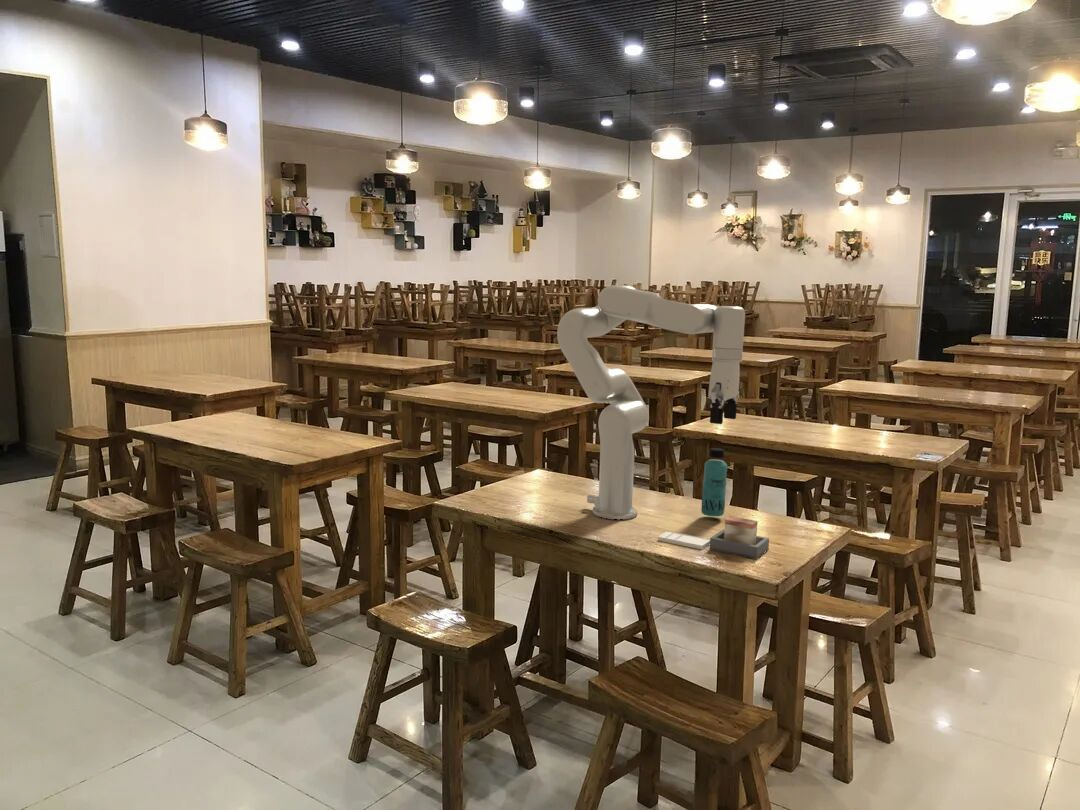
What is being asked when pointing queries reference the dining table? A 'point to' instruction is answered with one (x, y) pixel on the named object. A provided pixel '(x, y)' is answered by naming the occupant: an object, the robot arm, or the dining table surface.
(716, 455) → the beverage bottle
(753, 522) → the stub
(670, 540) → the cream slab
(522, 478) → the dining table surface
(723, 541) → the tray
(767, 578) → the dining table surface
